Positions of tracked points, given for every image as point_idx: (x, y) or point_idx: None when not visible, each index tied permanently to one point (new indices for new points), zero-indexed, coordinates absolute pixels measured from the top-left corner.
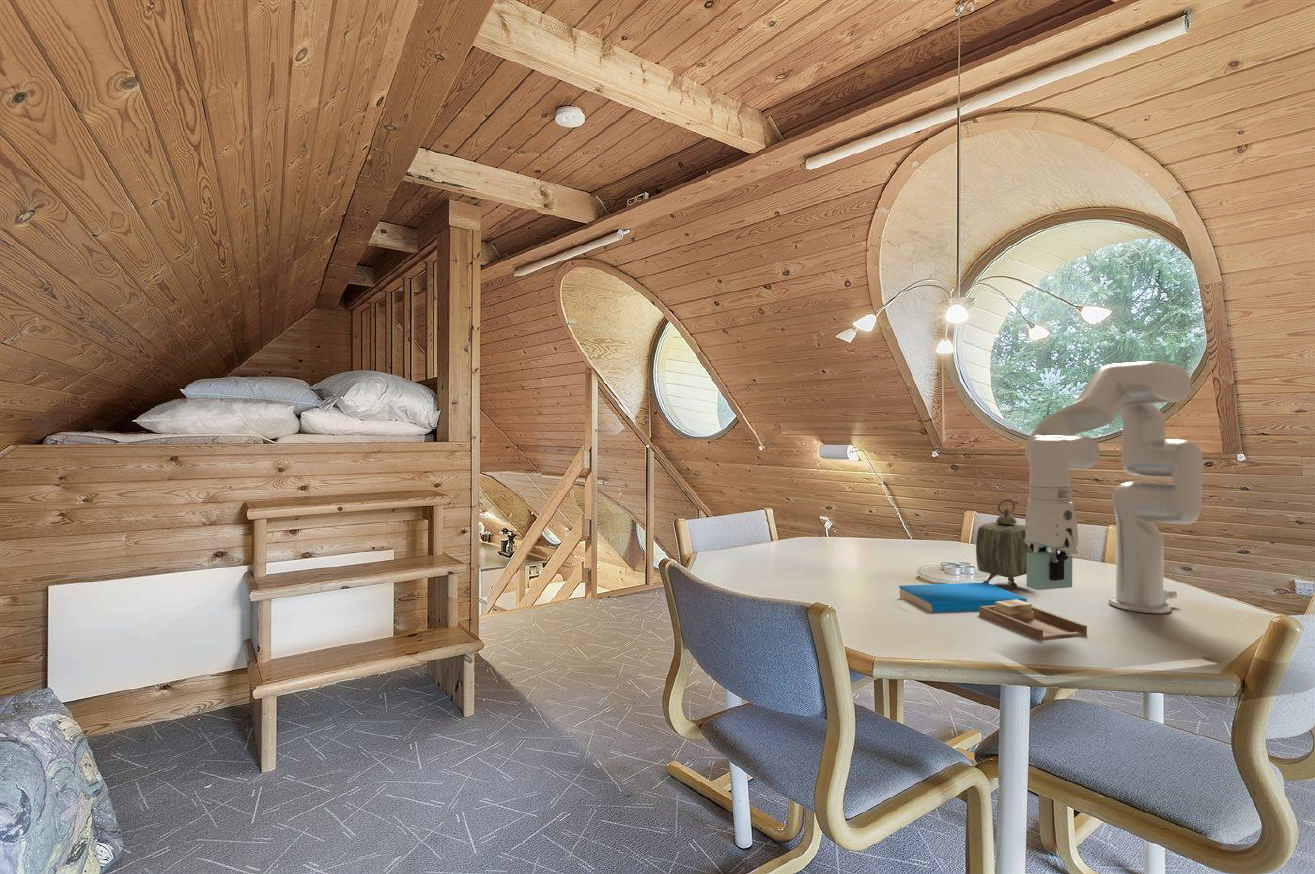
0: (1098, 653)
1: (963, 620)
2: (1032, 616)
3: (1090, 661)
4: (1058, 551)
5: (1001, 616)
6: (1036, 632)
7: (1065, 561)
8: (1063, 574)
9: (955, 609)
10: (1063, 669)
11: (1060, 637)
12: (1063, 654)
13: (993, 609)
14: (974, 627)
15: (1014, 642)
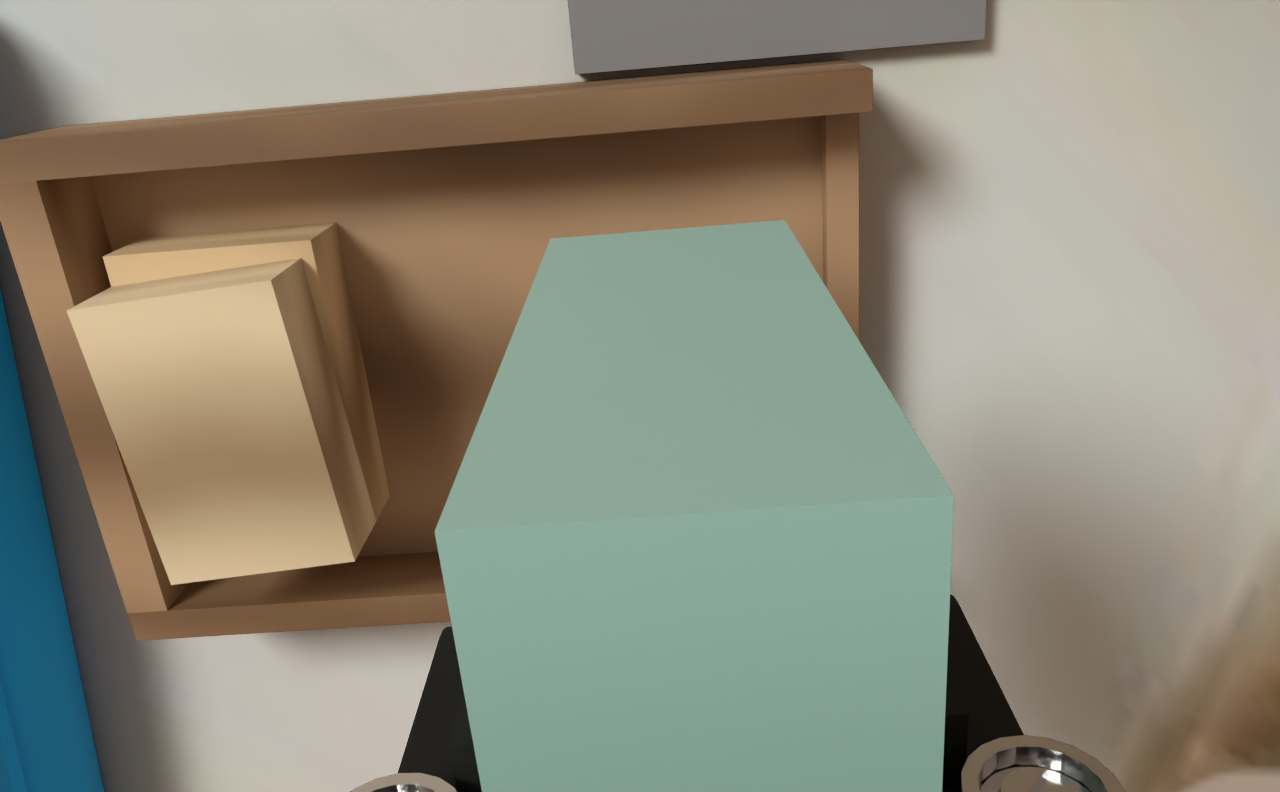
0: (1131, 225)
1: (209, 687)
2: (329, 246)
3: (1235, 421)
4: (576, 708)
5: (422, 614)
6: None
7: (1078, 770)
8: (954, 603)
9: (66, 724)
10: (1268, 686)
11: None
12: (1055, 500)
13: None
14: (386, 707)
15: None
